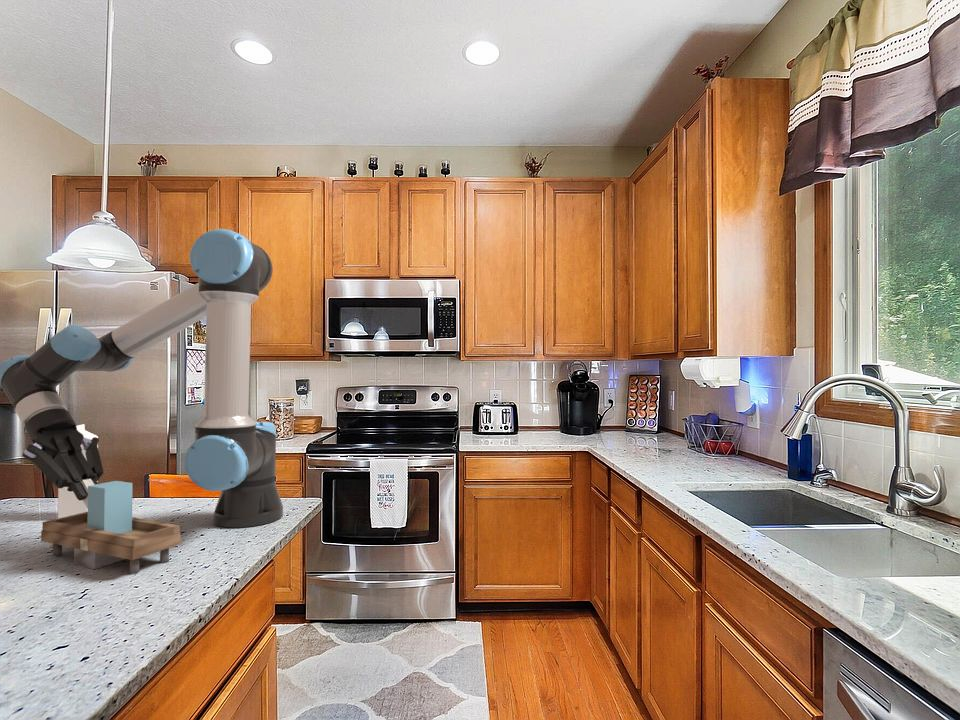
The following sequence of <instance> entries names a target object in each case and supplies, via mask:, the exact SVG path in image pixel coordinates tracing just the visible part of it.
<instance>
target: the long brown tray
mask: <svg viewBox="0 0 960 720" xmlns="http://www.w3.org/2000/svg"><path fill="white" fill-rule="evenodd" d="M87 519H88V512H84V513H80V514H76V515H71V516H67V517H63V518H59V519H58V518H55V519H51V520H46V521H42V529H41V531H40V535H41V536H40V541H41V542H43V543H50V544H52V557H53V556H57V557H61V556H63V547H66V548H72V549H73V565H74V564H76V565H75V566H78V565H80V567H83V566H84V568H87V567H88V568H89V569H93V570H96V569H100V568H103V567H106V566H109V565H112V564H114V563H117V562H118V563H119V562H120V561H121V562H122V561H123V560H129V575H135V574H138V572H139V573H140V558H144V557H146V556H148V555H149V556H150V555H153V554H155V553H158V552H159V563H160V564H165V563H168V562H170V548H173V547H176V546H178V545H181V541H182V540H181V534H182V533H181V529H180V528H181V527H180V525H178V524H173V523H166V522H161V521H157V520H156V521H155V520H148V519H142V518H137V517H133V516H132V531H129V532H125V533H121V534H120V533H115V532H109V531H104V530H98V529H96V528H91V527H89V528H88V527H87ZM60 555H61V556H60ZM102 566H103V567H102ZM88 568H87V569H88Z"/></svg>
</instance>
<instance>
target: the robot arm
mask: <svg viewBox="0 0 960 720" xmlns="http://www.w3.org/2000/svg"><path fill="white" fill-rule="evenodd" d="M189 262H190V265H191V269H192V270H193V272H194V274H195V275H196V276H197V277H198V282H197V283H195V284H194V285H191V286H189V287H188V288H186V289H185V290H183V291H181V292H179V293H178V294H175V295H174V296H171V297H170V298H169V299H167V300H164V301H163V302H161V303H160V304H157V305H156V306H153V307H152V308H151V309H149V310H147V311H145V312H143V313H142V314H140V315H138V316H136V317H134V318H132V319H131V320H129V321H127V322H125V323H124V324H121V325H120V326H118V327H117V328H115V329H113V330H112V331H110V332H108V333H106V334H105V335H102V336H100V337H97V336H96V335H95V334H94V333H93V332H92V331H91V330H88V329H87V328H85V327H82V326H81V325H78V324H77V325H76V324H70V325H67V326H65V328H63V329H62V330H60V331H59V332H56V333H55V334H53V336H52V337H51V338H50V339H49V340H47V341H46V342H45V343H44V344H43V345H42V346H41V347H40V348H38V349H37V350H36V351H35V352H34V353H32V354H31V355H28V354H27V355H26V354H22V355H14V356H12V358H10V359H5V360H2V362H1V363H0V388H1V390H2V391H3V392H4V393H5V395H6V397H7V398H8V400H9V402H10V404H12V406H13V409H14V410H15V412H16V413H15V414H16V415H17V416H18V419H19V420H20V422H21V423H22V426H23V427H24V430H25V431H26V433H27V435H28V437H29V439H30V441H31V442H32V444H28V445H27V446H26V448H25V450H24V451H23V453H22V455H21V456H22V457H23V458H25V459H26V460H28V461H31V462H32V463H33V464H34V465H35V466H36V467H37V468H38V469H39V470H40V471H41V472H42V473H43V474H44V475H45V477H47V479H49V480H50V482H52V483H53V485H55V487H56V488H57V489H58V488H63V487H68V489H67V490H68V491H70V492H72V491H73V492H74V494H75V496H76V497H77V499H78V500H79V501H80V500H83V502H84V504H85V505H86V507H87V509H88V486H91V485H96V484H99V483H97V481H98V482H99V480H100V478H101V477H102V476H103V474H104V472H105V471H104V469H103V463H102V460H101V455H100V451H99V441H100V440H99V437H98V438H96V437H94V438H92V440H91V439H88V438H84V436H83V434H81V433H80V432H79V431H78V430H77V427H76V426H77V425H76V424H77V423H76V421H75V420H74V418H73V416H72V414H71V413H70V412H69V411H68V407H67V406H66V404H65V403H64V402H63V400H62V397H61V396H60V394H59V393H58V391H57V389H56V388H57V386H58V385H60V384H61V383H63V382H64V381H65V380H66V379H68V378H69V377H70V376H71V375H72V374H73V373H76V372H107V373H108V372H109V373H110V372H112V373H113V372H116V371H120V370H124V369H126V368H127V367H129V366H130V364H131V363H132V361H133V360H134V358H135V357H137V356H139V355H141V354H142V353H144V352H146V351H148V350H150V349H152V348H153V347H156V346H157V345H159V344H161V343H162V342H164V341H166V340H168V339H169V338H171V337H174V336H175V335H176V334H178V333H180V332H182V331H183V330H185V329H187V328H189V327H190V326H191V327H192V326H193V325H195V324H196V323H198V322H200V321H201V320H203V319H205V318H206V320H205V352H204V353H205V355H204V357H205V358H204V359H205V360H204V392H203V393H204V395H203V396H204V398H203V417H202V418H200V420H199V421H197V422H196V424H195V425H194V428H195V430H194V441H193V443H192V444H191V445H190V446H189V448H188V449H187V450H186V453H185V456H184V469H185V472H186V474H187V476H188V478H189V480H191V482H193V483H194V484H195V485H197V487H199V488H201V489H203V490H206V491H209V492H220V494H219V496H218V500H217V502H216V506H215V508H214V511H213V524H214V525H216V526H218V527H224V528H248V527H250V528H251V527H257V526H261V525H266V524H270V523H273V522H275V521H278V520H280V519H282V517H283V516H284V504H283V502H282V499H281V496H280V493H279V491H278V487H277V484H276V471H277V470H276V464H277V463H276V462H277V461H276V458H277V457H276V456H277V455H276V452H277V449H276V448H277V437H278V436H277V432H276V426H275V424H274V423H273V422H270V421H254V419H252V418H251V416H250V415H249V408H250V406H249V404H250V366H251V365H250V362H251V361H250V360H251V359H250V358H251V321H252V320H251V319H252V318H251V317H252V305H253V304H254V303H255V302H256V301H258V300H259V298H260V292H261V291H262V290H264V289H265V288H266V287H267V286H268V284H269V283H270V281H271V279H272V276H273V269H274V268H273V263H272V259H271V258H270V256H269V254H268V253H267V251H265V250H264V249H263V248H262V247H260V246H259V245H257V244H255V243H253V242H252V241H251V240H249V239H248V238H247V237H246V236H244V235H243V234H241V233H238V232H236V231H233V230H231V229H227V228H226V229H225V228H216V229H211V230H208V231H205V232H204V233H203V234H201V235H200V237H198V238H197V239H196V240H195V241H194V242H193V244H192V245H191V249H190V252H189ZM81 444H82V445H83V447H84V450H86V453H85V454H86V459H87V460H86V459H85V457H84V455H83V453H82V448H81V447H80V446H81ZM97 445H98V447H97ZM81 481H82V482H81Z"/></svg>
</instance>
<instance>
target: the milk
mask: <svg viewBox="0 0 960 720" xmlns="http://www.w3.org/2000/svg"><path fill="white" fill-rule="evenodd" d="M85 426H86V424H85V423H83V424H77V425H76V427H77V430H78V431H79V432H80V433H81V434H83V436H84V438H88V439H91V440H92V438H94V437H96V438H98V439H99V436H98V435H97V434H95V433H91V432H89V431H88V430H86V429H85V428H86V427H85ZM80 447H81V448H82V453H83V455H84V457H85V459H86V454H85V453H86V450H84V447H83V445H82V444H81V446H80ZM97 447H98V448H99V444H98V445H97ZM86 460H87V459H86ZM81 482H82V481H81ZM98 482H99V480H98V481H97V483H98ZM98 484H99V483H98ZM67 489H68V487H63V488H58V487H57V492H58V493H57V494H58V495H57V519H59V518H63V517H67V516H71V515H76V514H80V513H84V512H88V509H87V507H86V505H85V504H84V502H83V500H80V501H79V500H78V499H77V497H76V496H75V494H74V492H73V491H72V492H70V491H68V490H67Z"/></svg>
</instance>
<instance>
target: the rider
mask: <svg viewBox="0 0 960 720" xmlns="http://www.w3.org/2000/svg"><path fill="white" fill-rule="evenodd" d="M132 517H133V482H127V481H120V480H113V481H112V480H111V481H108V482H101V483H98V484H96V485H91V486H88V519H87V527H88V528H89V527H91V528H96V529H98V530H104V531H109V532H115V533H120V534H121V533H125V532H129V531H132Z"/></svg>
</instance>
